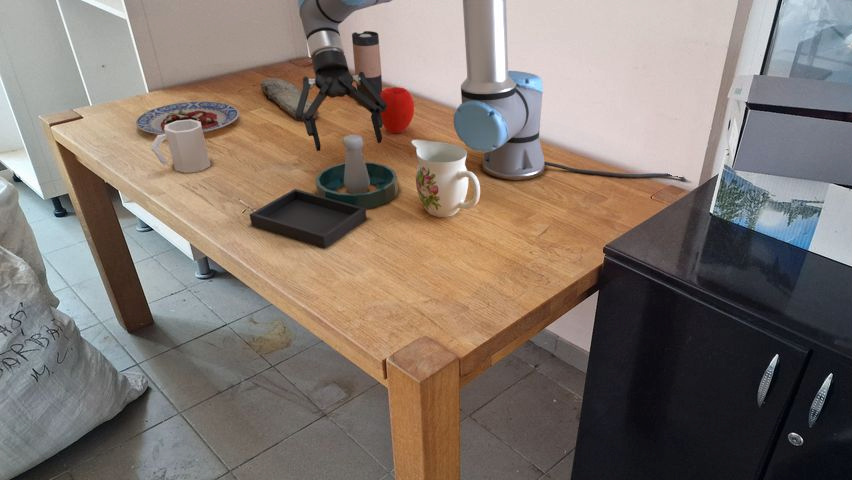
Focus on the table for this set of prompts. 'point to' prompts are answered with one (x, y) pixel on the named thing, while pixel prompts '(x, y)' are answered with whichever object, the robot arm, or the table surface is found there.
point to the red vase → (397, 109)
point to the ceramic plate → (188, 116)
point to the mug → (184, 146)
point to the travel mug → (367, 59)
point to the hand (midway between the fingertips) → (349, 144)
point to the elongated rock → (285, 95)
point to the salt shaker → (355, 166)
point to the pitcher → (443, 178)
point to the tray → (308, 217)
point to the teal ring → (378, 176)
